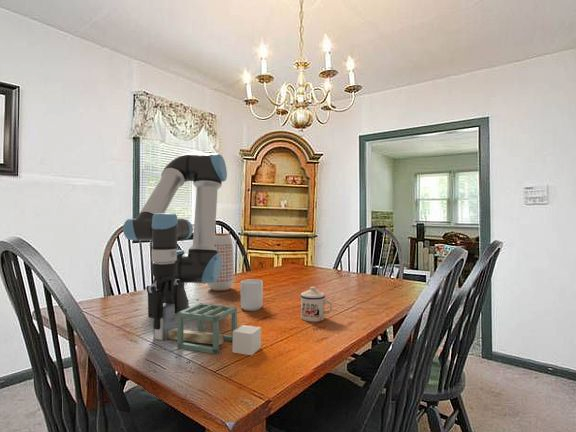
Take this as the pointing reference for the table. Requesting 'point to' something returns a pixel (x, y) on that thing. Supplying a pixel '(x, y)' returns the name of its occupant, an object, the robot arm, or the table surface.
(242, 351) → the block
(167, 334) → the mallet
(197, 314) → the tube cage
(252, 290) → the mug
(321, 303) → the teacup with lid
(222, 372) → the table surface
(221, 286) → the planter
